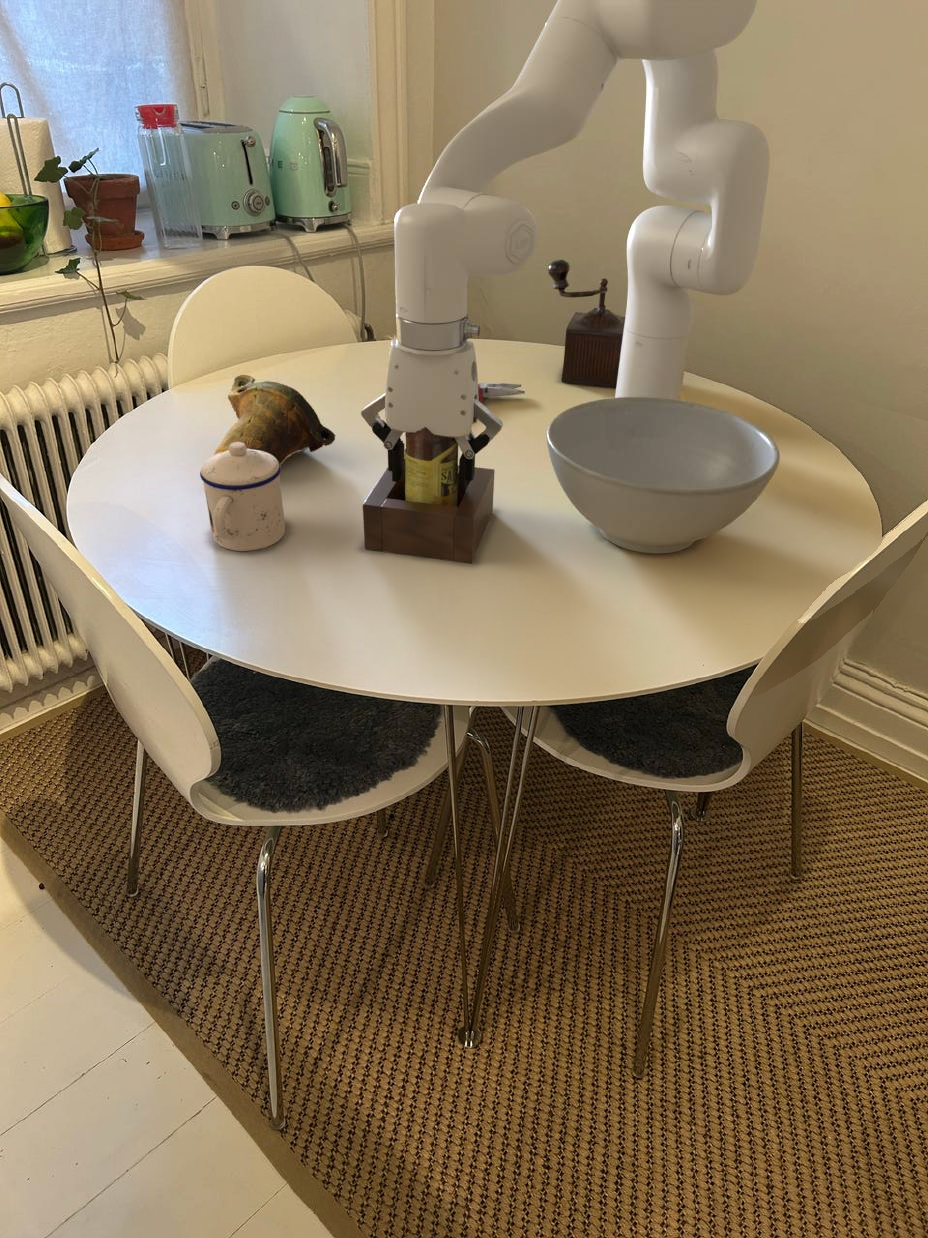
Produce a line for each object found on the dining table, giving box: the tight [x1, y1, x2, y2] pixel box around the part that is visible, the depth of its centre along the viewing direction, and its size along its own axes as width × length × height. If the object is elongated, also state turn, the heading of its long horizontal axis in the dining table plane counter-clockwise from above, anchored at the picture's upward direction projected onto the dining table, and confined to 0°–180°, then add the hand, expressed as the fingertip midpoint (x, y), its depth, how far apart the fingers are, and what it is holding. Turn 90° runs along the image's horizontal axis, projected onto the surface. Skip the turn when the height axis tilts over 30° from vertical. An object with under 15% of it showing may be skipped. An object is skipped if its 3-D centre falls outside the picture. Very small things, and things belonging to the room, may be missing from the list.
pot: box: [212, 374, 336, 466], centre depth 120 cm, size 17×11×18 cm
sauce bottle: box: [404, 427, 459, 507], centre depth 102 cm, size 7×6×20 cm
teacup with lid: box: [199, 442, 286, 552], centre depth 101 cm, size 12×9×12 cm
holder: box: [362, 464, 496, 564], centre depth 106 cm, size 13×13×6 cm
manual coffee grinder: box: [547, 258, 626, 389], centre depth 149 cm, size 16×11×18 cm
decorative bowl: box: [546, 397, 781, 554], centre depth 106 cm, size 27×27×12 cm
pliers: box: [478, 382, 526, 403], centre depth 143 cm, size 12×20×3 cm, turn 100°
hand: (431, 479), depth 104 cm, fingers open, 7 cm apart
